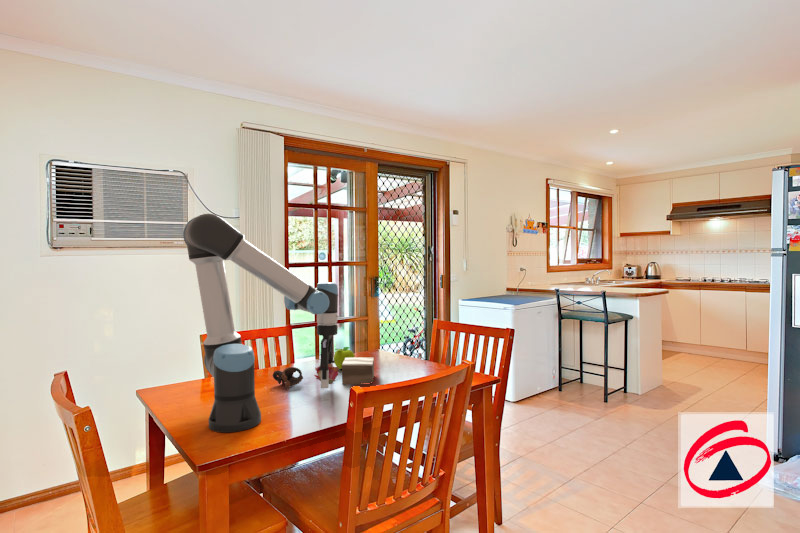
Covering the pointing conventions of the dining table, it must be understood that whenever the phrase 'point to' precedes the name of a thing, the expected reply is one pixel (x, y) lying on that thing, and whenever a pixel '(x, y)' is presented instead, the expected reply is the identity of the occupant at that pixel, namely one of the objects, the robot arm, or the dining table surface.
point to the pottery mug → (288, 377)
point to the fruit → (342, 356)
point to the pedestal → (358, 370)
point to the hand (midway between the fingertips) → (326, 384)
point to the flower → (332, 373)
